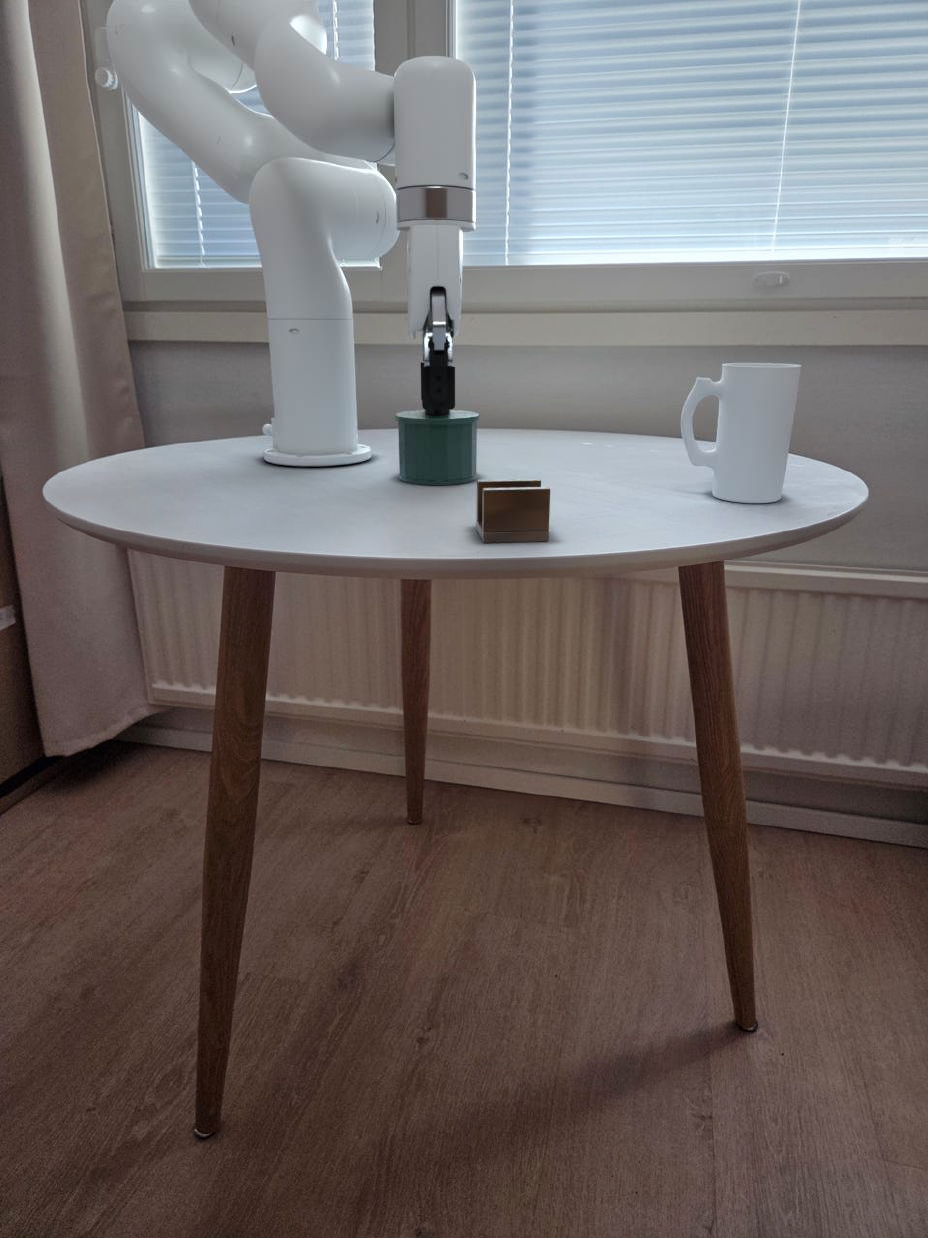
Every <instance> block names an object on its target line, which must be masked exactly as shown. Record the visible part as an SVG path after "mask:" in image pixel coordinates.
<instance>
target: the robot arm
mask: <svg viewBox="0 0 928 1238" xmlns="http://www.w3.org/2000/svg"><path fill="white" fill-rule="evenodd" d="M105 34H106V42H107V49H108V52H109V56H110V60H111V63H112V66H113V70H114V72H115V75H116V77H117V79H118V81H119V84H120V86H121V88H122V89H123V91H124V94H125V95H126V96H127V98H128V100H129V101H130V103H131V104H132V105H133V107H134V108H135V109H136V110H137V111H138V112H139V114H140V115H141V116H142V117H143V118H144V119H145V120H146V121H147V122H148V123H149V124H150V125H151V126H152V127H153V128H154V129H156V130H157V131H158V132H159V133H161V135H163V136H164V137H165V138H166V139H167V140H169V141H170V142H171V143H173V145H175V147H177V148H178V149H180V150H181V151H182V152H183V153H184V154H185V155H186V156H187V157H188V158H189V159H190V160H191V161H192V163H194V164H195V165H196V166H197V167H198V168H199V169H200V170H201V171H203V173H204V174H206V175H207V176H208V177H209V178H210V179H211V180H212V181H213V182H214V183H215V184H217V186H219V187H220V188H221V189H222V191H224V192H225V193H227V194H228V195H229V196H230V197H231V198H233V199H234V200H236V201H237V202H239V203H242V204H244V205H247V206H248V209H249V217H250V222H251V226H252V230H253V233H254V238H255V242H256V245H257V249H258V254H259V258H260V264H261V269H262V270H261V271H262V277H263V284H264V285H263V286H264V295H265V296H264V297H265V306H266V307H265V308H266V319H267V331H268V333H267V334H268V345H269V346H268V347H269V357H270V358H269V359H270V372H271V388H272V389H271V390H272V402H273V403H272V404H273V415H274V417H271V418H270V420H271V421H270V422H271V424H270V423H264V424H263V426H262V433H263V434H264V435H265V436H270V437H272V445H271V446H269V447H266V448H265V449H264V450H263V459H264V461H266V462H267V463H271V464H275V465H280V466H281V465H282V466H291V467H330V466H331V467H332V466H343V465H344V466H345V465H351V464H358V463H362V462H365V461H367V460H370V459H371V458H372V457H373V456H372V448H371V447H370V446H369V445H366V444H362V443H359V435H358V434H359V433H358V431H359V430H358V409H357V385H356V383H357V381H356V361H355V360H356V359H355V358H356V357H355V334H354V331H355V330H354V312H353V311H354V309H353V301H352V294H351V290H350V287H349V284H348V281H347V279H346V276H345V274H344V272H343V270H342V268H341V266H340V263H339V261H338V260H349V261H372V260H375V259H378V258H380V257H382V256H384V255H386V254H387V253H388V252H389V251H391V249H392V248H393V247H394V246H395V244H396V242H397V240H398V239H399V235H400V232H403V233H404V232H405V233H407V243H406V246H407V247H406V285H407V287H406V291H407V292H406V294H407V295H406V296H407V327H408V328H407V331H408V336H409V337H410V338H411V339H416V332H422V333H421V338H422V339H421V340H422V361H421V362H420V399H421V407H422V409H423V410H455V407H456V366H454V348H453V347H454V345H453V339H455V338H457V336H460V335H459V334H460V328H461V327H460V325H461V317H462V316H461V314H462V301H463V300H462V299H463V263H464V261H463V260H464V258H463V256H464V249H463V248H464V238H463V237H464V233H470V232H474V231H476V166H477V165H476V160H477V159H476V158H477V157H476V156H477V155H476V154H477V153H476V152H477V151H476V147H477V145H476V144H477V143H476V140H477V139H476V138H477V137H476V136H477V135H476V132H477V129H476V128H477V83H476V77H475V73H474V71H473V69H472V68H471V66H469V64H467V63H466V62H464V61H462V60H461V59H457V58H455V57H450V56H443V55H424V56H416V57H414V58H411V59H407V60H405V61H403V62H402V63H401V64H400V65H399V66H398V67H397V69H396V70H395V73H394V76H393V75H389V74H384V73H382V72H380V71H375V70H372V69H369V68H365V67H362V66H359V65H355V64H351V63H347V62H344V61H340V60H337V59H335V58H333V57H331V56H330V55H327V47H328V46H327V44H328V43H327V42H328V39H327V37H328V36H327V30H326V26H325V23H324V21H323V19H322V17H321V15H320V7H319V2H318V0H114V1H113V2H112V3H111V4H110V7H109V9H108V12H107V15H106V23H105ZM254 88H256V89H257V92H258V95H259V98H260V101H261V103H262V105H263V107H264V108H265V110H267V112H268V113H269V114H266V113H262V112H259V111H255V110H253V109H251V108H250V107H248V106H247V105H246V104H244V103H242V102H241V101H240V100H239V99H238V98H236V97H235V95H233V94H240V93H244V92H247V91H250V90H252V89H254ZM368 162H369V163H372V164H378V165H382V166H389V167H394V171H395V172H394V173H395V175H394V176H395V180H394V181H395V190H394V189H393V187H392V185H391V184H390V182H389V181H388V180H387V178H386V177H385V176H384V175H383V174H382V173H381V172H380V171H378V170H377V169H376V168H375V167H374V166H372V165H371V164H369V163H368Z"/></svg>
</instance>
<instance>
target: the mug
mask: <svg viewBox="0 0 928 1238" xmlns="http://www.w3.org/2000/svg"><path fill="white" fill-rule="evenodd" d="M721 367H722V368H721V377H720V380H719V381H713V380H712V379H711V378H709V377H700V376H697V377H696V378H695V383H694V384H693V387H692V389H691V390H690V392H689V394H688V396H687V398H686V400H685V402H684V404H683V407H682V411H681V415H680V431H681V437H682V441H683V444H684V447H685V451H686V453H687V457H688V460H689V462H690V464H691V465H692V466H694V467H706V468H707V467H708V468H710V469H712V471H713V475H712V477H713V478H712V488H711V489H712V490H711V491H712V492H711V495H712V496H713V497H714V498H716V499H719V500H723V501H727V502H733V503H743V504H768V503H769V504H770V503H774V502H778V501H780V500H781V498H782V494H783V489H784V488H783V487H784V483H785V477H786V472H787V471H786V470H787V464H788V457H789V450H790V444H791V437H792V432H793V425H794V418H795V412H796V406H797V399H798V393H799V384H800V379H801V378H800V377H801V369H802V365H801V364H794V363H777V362H776V363H775V362H770V363H769V362H729V363H728V362H727V363H722V364H721ZM707 396H716V397H717V398H718V401H719V402H718V415H717V427H716V438H715V439H716V440H715V446H714V448H713V449H712V450H703V449H702V448H700V447H699V445H698V443H697V442H696V439H695V434H694V430H693V419H694V413H695V410H696V408H697V406H698V404H699V403H700V402H701V401H702V400H703V399H704V398H706V397H707Z"/></svg>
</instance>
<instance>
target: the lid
mask: <svg viewBox="0 0 928 1238" xmlns="http://www.w3.org/2000/svg"><path fill="white" fill-rule="evenodd" d="M395 421H396V422H401V423H408V424H419V425H455V424H467V423H473V422H477V423H478V422H479V421H480V414H479V413H478V412H475V411H470V410H461V409H460V410H458V409H452V410H425V409H416V410H406V411H400V412H397V413H395Z"/></svg>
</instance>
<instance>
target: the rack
mask: <svg viewBox="0 0 928 1238" xmlns="http://www.w3.org/2000/svg"><path fill="white" fill-rule="evenodd" d="M550 507H551V488H550V487H549V486H542V479H540V478H506V479H505V478H503V479H502V478H499V479H477V480H476V520H475V523H476V524H475V528H476V531H477V533H478V535H479V537H480V539H481V541H482V542H483V543H484V544H491V543H492V544H493V543H495V544H496V543H497V544H499V543H533V542H549V541H550V531H549V530H550V513H551V512H550V510H551V509H550Z"/></svg>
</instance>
